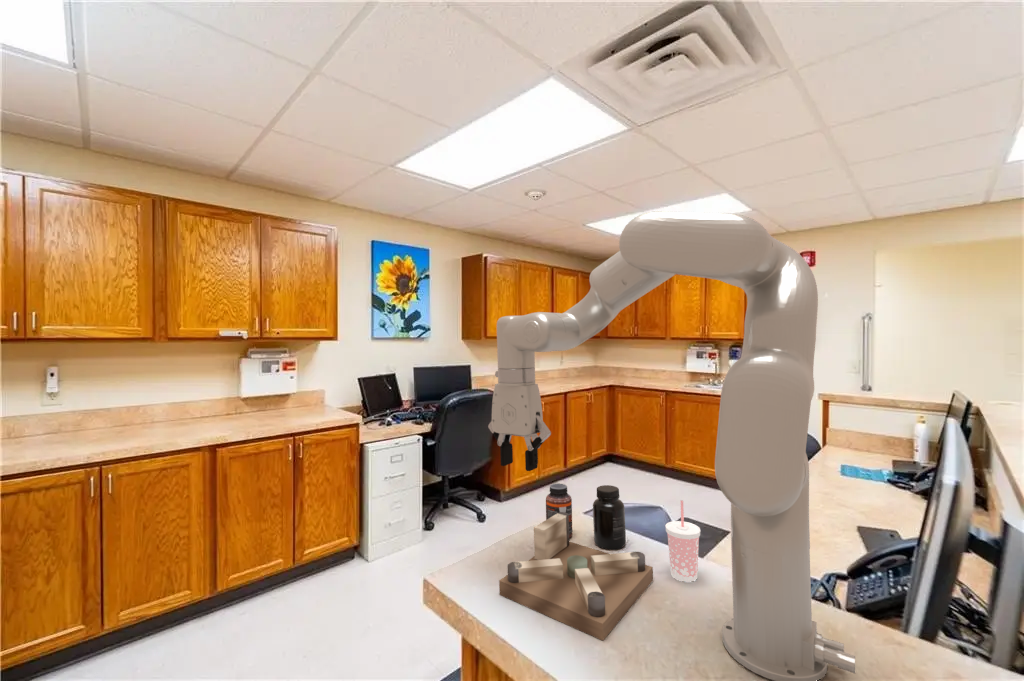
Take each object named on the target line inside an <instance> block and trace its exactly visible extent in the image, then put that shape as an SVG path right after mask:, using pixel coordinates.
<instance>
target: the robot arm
mask: <svg viewBox="0 0 1024 681" xmlns="http://www.w3.org/2000/svg"><path fill="white" fill-rule="evenodd" d="M618 242H619V243H618V244H619V245H618V246H619V250H618V251H617V252H616V253H615V254H613V255H611V256H610V257H609V258H608V259H606V260H605V261H603V262H602V263H601V264H599V265H598V266H597V267H595V268H594V269H593V270H592V271H591V272H590V274H589V286H590V289H589V291H588V292H587V294H586V295H585V296H584V297H583V298H582V299H581V300H580V301H579V302H577V303H575V304H574V305H572V307H570V308H568V309H567V310H566V311H564V312H562V313H560V312H548V311H547V312H546V311H545V312H544V311H537V312H531V313H528V314H524V315H505V316H501V317H499V318H498V320H497V321H496V345H497V347H496V349H497V351H496V352H497V354H496V355H497V370H496V371H495V372H494V376H495V378H497V383H496V384H495V383H494V384H495V385H494V388H493V394H492V402H491V420H490V422H489V424H488V426H487V427H488V429H489V431H490V432H491V433H492V434H493V437H494V438H495V440H496V441H497V442H496V443H497V446H499V448H500V449H499V450H500V451H499V453H500V466H502V467H505V466H508V465H511V464H512V463H513V462H514V461H513V460H514V457H513V456H514V455H513V454H514V452H513V443H511V439H512V436H515V437H522V438H523V439H524V442H525V445H526V448H527V450H524V451H525V452H524V457H525V458H524V461H525V462H524V463H525V464H524V465H525V471H526V472H531V471H533V470H536V469H538V464H539V458H538V457H539V450H538V449H540V448H541V446H542V445H543V444H544V442H545V441H546V440H548V438H549V437H550V436H551V435H552V431H551V430H550V428H549V427H548V426H547V425H546V422H544V420H543V418H544V417H543V415H544V414H543V406H542V400H541V398H542V397H541V393H540V389H539V388H540V387H539V385H538V383H536V358H535V357H536V356H535V353H549V352H563V351H569V350H572V349H574V348H577V347H579V345H581V344H583V343H584V342H586V341H587V340H590V339H591V338H593V337H594V336H596V335H597V334H599V333H600V332H601V331H603V330H604V329H605V328H606V327H607V326H608V325H609V324H610V323H611V322H612V321H613V320H614V319H615V318H616V317H617V316H618V314H619V313H620V312H621V311H622V310H624V309H625V308H626V307H629V305H631V304H632V303H635V302H636V301H637V300H638V299H640V298H641V297H643V296H645V295H646V294H647V293H649V292H651V291H652V290H654V289H656V288H657V287H659V286H661V284H663V283H664V282H666V281H668V280H669V279H671V278H672V277H674V276H675V275H679V276H687V277H689V276H690V277H696V278H705V279H711V280H717V281H721V282H723V283H725V284H728V285H730V286H735V287H737V288H740V289H742V290H743V291H744V294H745V295H746V298H747V302H746V303H747V306H746V311H745V315H744V316H745V317H744V324H743V325H744V332H743V343H742V350H741V356H740V358H739V359H737V360H736V361H735V362H734V363H733V364H732V365H731V366H730V368H729V369H728V370H727V372H726V374H725V377H724V379H723V383H722V387H721V391H720V392H721V393H720V400H719V411H718V422H717V423H718V425H717V433H716V434H717V435H716V446H715V453H714V454H715V455H714V472H715V473H714V474H715V478H716V482H717V484H718V487H719V489H720V491H721V493H722V494H723V495H724V498H726V499H727V500H728V502H729V503H730V533H731V534H730V544H731V547H730V550H731V576H732V577H731V579H732V611H733V614H732V615H733V618H731V619H729V620H727V621H726V622H725V624H724V625H723V627H722V629H721V634H722V635H721V636H722V637H721V638H722V644H723V645H724V647H725V649H726V651H727V652H728V653H729V655H730V656H731V657H733V659H734V660H735V661H737V662H738V663H739V664H740V665H741V666H743V667H744V668H746V669H747V670H749V671H751V672H752V673H754V674H756V675H758V676H760V677H762V678H765V679H768V680H772V681H816V680H819V679H821V678H822V677H823V678H824V677H825V676H826V675H827V672H828V665H831V666H833V667H837V668H838V669H841V670H844V671H847V672H849V673H852V674H856V655H852V654H850V653H847V652H845V644H844V643H842V642H840V641H837V640H833V639H829V638H826V637H823V635H822V634H820V633H818V628H817V626H818V625H817V622H816V621H813V618H812V617H813V616H812V615H813V614H812V585H811V584H812V583H811V582H812V581H811V580H812V579H811V554H810V552H811V551H810V550H811V542H810V541H811V540H810V538H811V537H810V465H809V459H808V454H807V451H806V450H807V442H808V431H809V422H810V416H811V415H810V413H811V406H812V405H811V404H812V400H813V397H814V393H815V380H814V379H815V377H814V366H815V365H814V361H815V352H816V351H815V350H816V341H817V322H818V320H817V319H818V309H819V308H818V306H819V298H818V297H819V294H818V293H819V292H818V285H817V282H816V278H815V275H814V272H813V270H812V269H811V267H810V265H809V264H808V263H807V261H806V260H805V259H804V257H803V256H802V255H801V254H800V253H798V252H797V251H796V250H795V249H793V247H790V246H789V245H788V244H786V243H784V242H782V241H780V240H778V239H777V238H776V237H774V236H772V235H771V234H770V233H769V231H768V230H767V229H766V228H765V226H763V225H762V224H761V223H760V222H759V221H757V220H755V219H753V217H752V218H751V217H748V216H746V215H741V214H734V213H722V212H720V213H719V212H718V213H717V212H716V213H715V212H692V211H691V212H690V211H689V212H687V211H686V212H683V211H662V210H661V211H660V210H659V211H658V210H657V211H656V210H655V211H648V212H645V213H642V214H639V215H637V216H634V218H633V219H631V220H630V221H629V222H628V223H627V224H626V225H625V226H624V227H623V229H622V230H621V234H620V237H619V240H618ZM825 674H826V675H825ZM823 678H822V679H823ZM822 679H821V680H822ZM819 681H820V680H819Z"/></svg>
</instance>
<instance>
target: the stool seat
mask: <svg viewBox="0 0 1024 681" xmlns="http://www.w3.org/2000/svg"><path fill="white" fill-rule="evenodd" d="M653 568H654V567H653V566H650V565H647V564H646V555H645V554H644V553H643V552H641V551H630V552H618V553H617V552H616V553H608V552H605V551H601V550H600V549H599V550H598V549H595V548H593V547H592V548H591V547H589V546H585V545H583V544H580V543H579V544H578V543H575V542H572V541H569V546H567V547H565V548H564V549H562V550H561V551H560V552H558V553H557V554H556V555H554V556H553V557H551V558H550V559H545V560H537V559H535V555H534V556H532V557H531V558H530V559H528V560H523V561H512V562H509V563H508V564H507V568H506V569H507V575H505V576H503V577H502V578H501V579H499V580H498V583H499V584H498V585H499V586H498V587H499V588H498V589H499V592H498V593H499V596H502V597H504V598H506V599H509V600H511V601H513V602H515V603H517V604H519V605H522V606H524V607H526V608H528V609H531V610H533V611H535V612H538V613H539V614H542V615H545V617H546V616H547V617H549V618H551V619H553V620H556V621H558V622H560V623H561V624H564V625H567V626H569V627H571V628H574V629H576V630H578V631H579V632H583V633H585V634H587V635H589V636H591V637H594V638H596V639H599V640H600V641H604V640H606V638H607V637H608V635H609V634H611V632H612V631H613V629H614V628H615V627H616V626H617V625H618V624H619V622H620V621H621V620H622V619H623V617H625V615H626V614H627V612H628V611H629V610H630V609H631V608H632V607H633V605H634V604H635V603H636V602H637V601H638V600H639V599H640V597H641V596H642V595H643V594H644V592H645V591H646V590H647V589H648V587H650V585H651V583H652V582H654V569H653ZM652 584H653V583H652Z"/></svg>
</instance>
